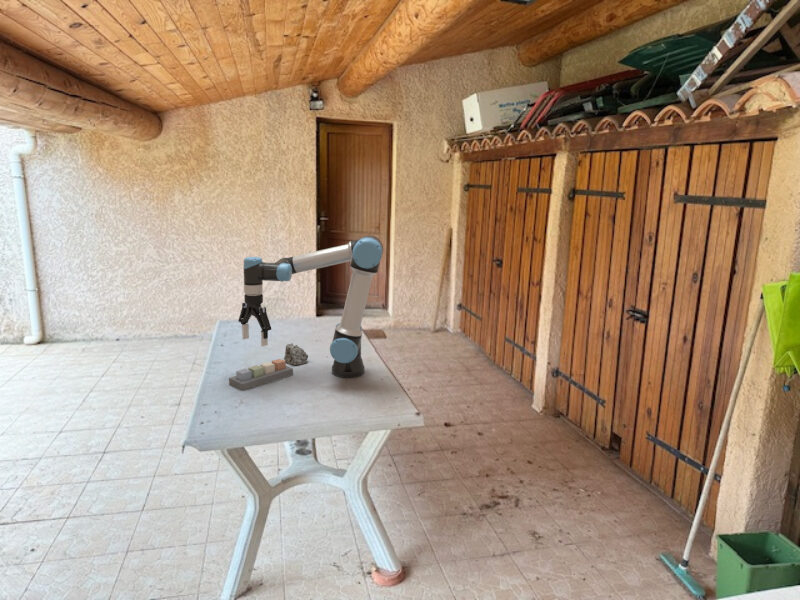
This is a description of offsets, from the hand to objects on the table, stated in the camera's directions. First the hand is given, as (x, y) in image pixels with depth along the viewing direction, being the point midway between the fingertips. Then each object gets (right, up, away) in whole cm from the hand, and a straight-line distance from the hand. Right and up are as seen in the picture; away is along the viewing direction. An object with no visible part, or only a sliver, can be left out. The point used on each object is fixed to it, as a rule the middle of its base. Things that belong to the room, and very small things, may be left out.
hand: (254, 342), depth 220 cm
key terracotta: (+8, -13, +10) cm, 19 cm away
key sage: (0, -15, +1) cm, 15 cm away
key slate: (-4, -16, -3) cm, 17 cm away
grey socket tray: (+2, -17, +4) cm, 17 cm away
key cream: (+4, -14, +6) cm, 16 cm away
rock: (+12, -12, +28) cm, 33 cm away
